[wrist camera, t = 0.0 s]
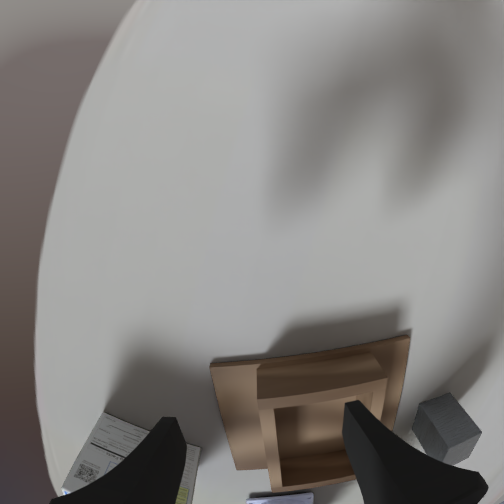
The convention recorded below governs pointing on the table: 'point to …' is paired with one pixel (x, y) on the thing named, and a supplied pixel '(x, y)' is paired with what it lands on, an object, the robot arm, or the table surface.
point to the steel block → (445, 430)
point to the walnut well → (306, 408)
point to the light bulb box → (121, 456)
